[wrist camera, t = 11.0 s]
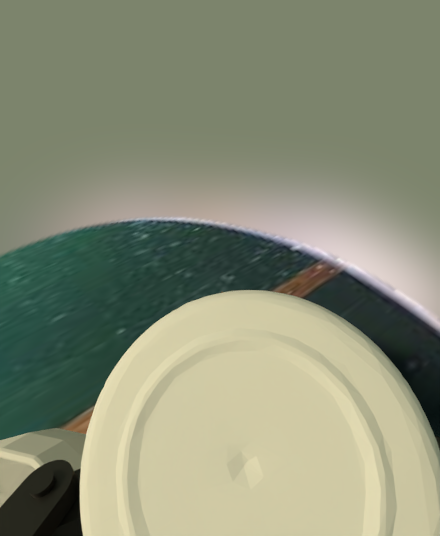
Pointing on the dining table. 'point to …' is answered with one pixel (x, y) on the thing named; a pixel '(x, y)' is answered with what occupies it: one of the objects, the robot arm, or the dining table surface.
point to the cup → (36, 455)
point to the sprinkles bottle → (258, 429)
